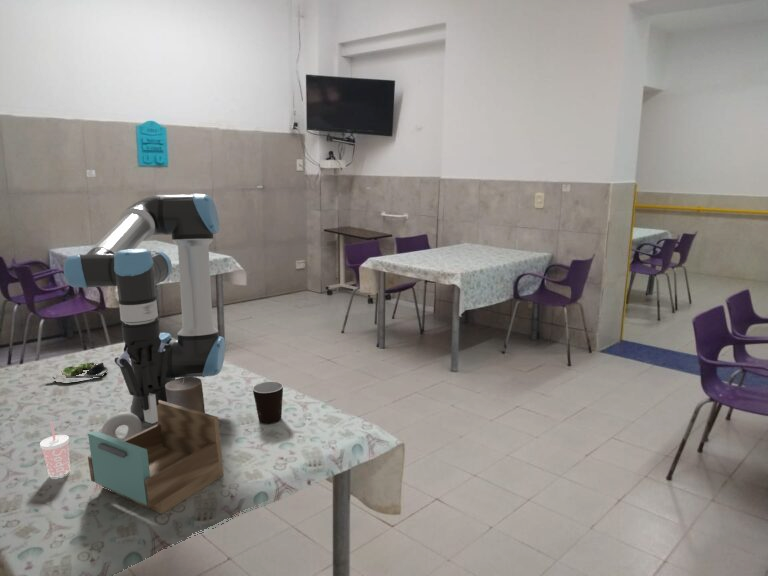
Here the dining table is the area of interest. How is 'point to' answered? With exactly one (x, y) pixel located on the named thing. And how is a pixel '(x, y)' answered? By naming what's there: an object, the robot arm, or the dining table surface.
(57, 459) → the beverage cup
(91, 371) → the salad plate
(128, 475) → the panel
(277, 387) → the coffee mug
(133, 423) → the donut
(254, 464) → the dining table surface
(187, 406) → the pillar candle
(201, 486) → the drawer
